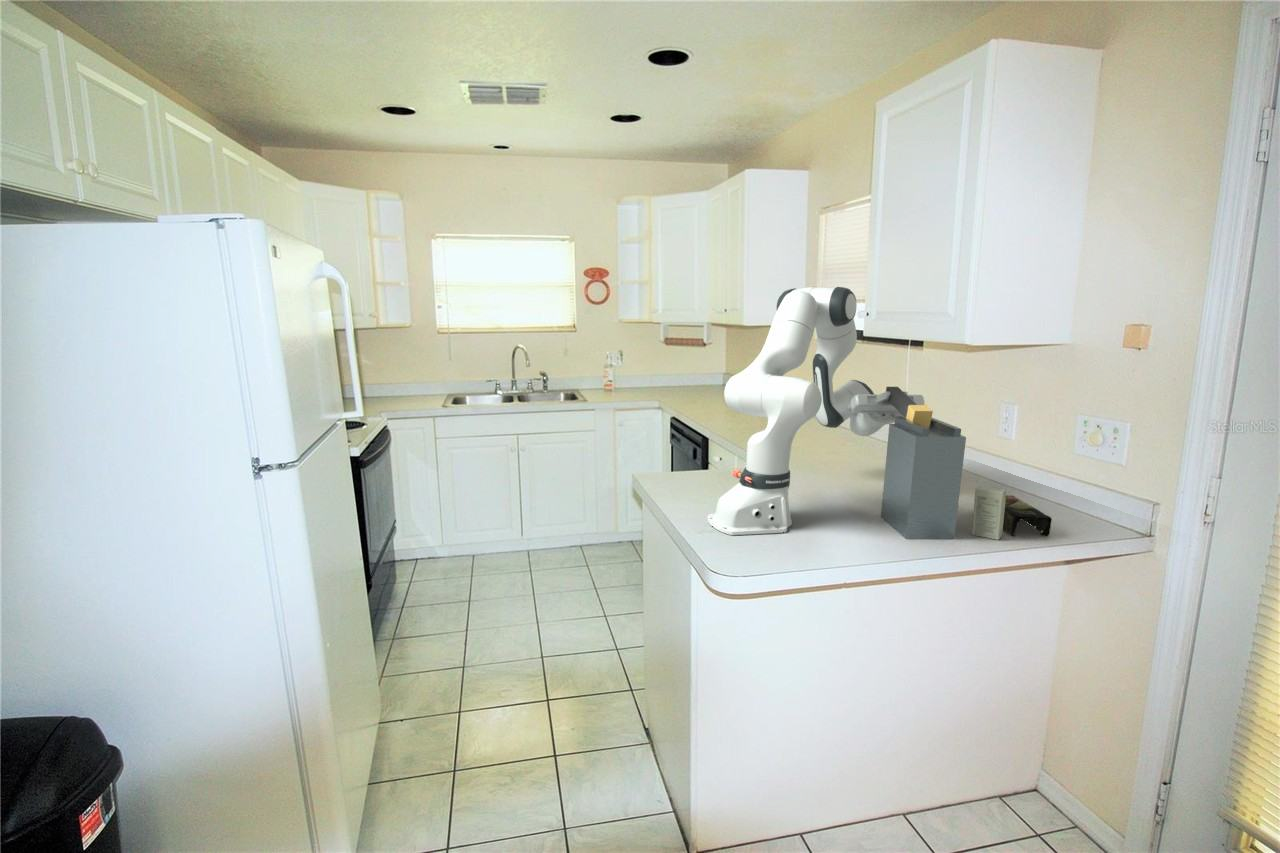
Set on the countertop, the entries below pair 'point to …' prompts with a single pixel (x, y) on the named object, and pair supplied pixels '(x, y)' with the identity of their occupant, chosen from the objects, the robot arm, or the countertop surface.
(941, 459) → the grey tall box
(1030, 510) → the juice carton
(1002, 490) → the skincare box
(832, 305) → the robot arm
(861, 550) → the countertop surface
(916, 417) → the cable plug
